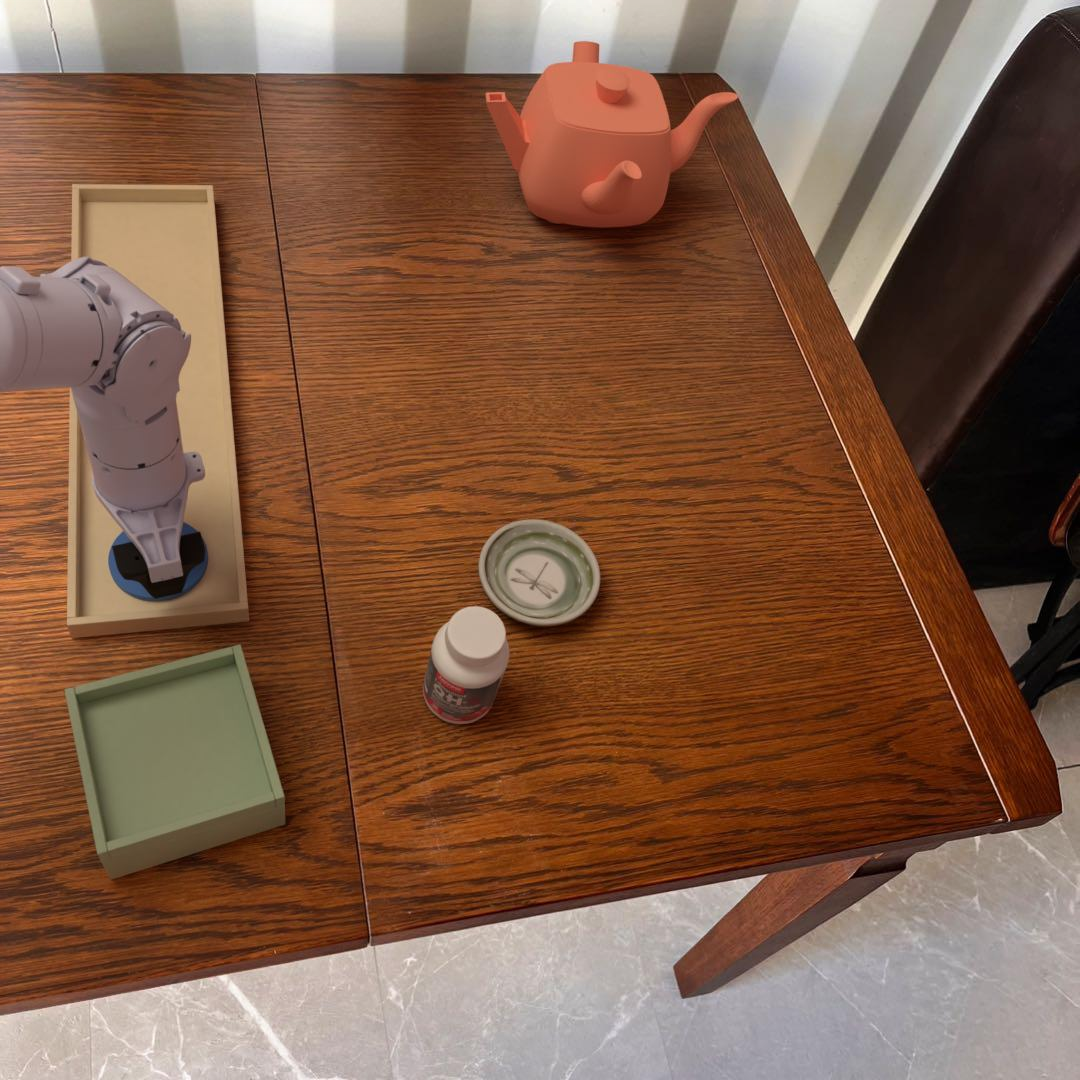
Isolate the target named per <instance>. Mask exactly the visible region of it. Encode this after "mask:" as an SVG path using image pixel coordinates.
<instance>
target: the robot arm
mask: <svg viewBox="0 0 1080 1080" xmlns="http://www.w3.org/2000/svg"><path fill="white" fill-rule="evenodd" d="M185 334H186V333H185V332H184V331H183V330H182V329H181V326H180V323H179V321H178V319H177V318H176V317H175V316H174V315H173V314H172V313H170V312H169V311H168V310H167V309H165V308H164V307H163V306H161V305H160V304H159V303H158V302H156V301H155V300H154V299H152V298H151V297H150V296H149V295H147V294H146V293H145V292H143V291H142V290H141V289H140V288H138V287H137V286H136V285H134V284H133V283H132V282H131V281H129V280H128V279H127V278H125V277H124V276H123V275H122V274H120V273H119V272H118V271H116V270H115V269H113V268H111V267H109V266H108V265H106V264H105V263H103V262H101V261H98V260H93V259H91V258H90V257H87V256H86V257H81V258H78V259H75V260H73V261H71V260H70V261H68V262H66V263H65V264H63V265H62V266H61V267H59V268H57V269H56V270H55V271H53V272H50V273H41V274H40V275H39V276H33V275H31V273H29V272H28V271H27V270H25V269H24V268H23V267H21V266H10V265H9V266H8V265H2V266H0V393H2V394H3V393H12V392H13V393H14V392H16V393H17V392H27V391H29V392H31V391H42V390H43V391H44V390H53V389H55V390H56V389H68V388H69V389H70V387H71V391H72V395H73V399H74V402H75V406H76V410H77V414H78V417H79V421H80V425H81V429H82V433H83V437H84V441H85V445H86V448H87V452H88V456H89V460H90V464H91V468H92V484H93V488H94V492H95V494H96V496H97V498H98V499H99V501H100V502H101V504H102V505H103V506H104V507H105V509H106V510H107V511H108V512H109V514H110V515H111V516H112V517H113V519H114V520H115V521H116V522H117V524H118V525H119V526H120V527H121V529H122V530H123V531H124V532H125V534H126V535H127V536H128V537H129V539H130V540H131V541H132V542H128V543H124V544H119V545H114V546H112V549H113V553H114V557H115V561H116V565H117V569H118V571H119V573H120V574H121V576H122V577H123V578H124V579H125V580H133V581H137V582H139V583H140V584H141V585H142V586H143V587H144V588H145V589H146V591H147V592H148V593H149V594H150V595H151V596H152V597H153V598H155V599H157V598H161V597H165V596H170V595H174V594H178V593H181V592H182V591H183V589H184V586H185V584H186V581H187V577H188V575H189V573H190V571H191V570H192V569H193V568H194V567H196V566H197V565H199V564H201V563H202V562H203V561H204V558H205V546H204V543H203V539H202V536H201V532H194V533H190V534H185V535H181V532H182V526H183V520H184V514H185V508H186V503H187V497H188V491H189V486H190V485H191V484H192V483H193V482H197V481H201V480H203V479H204V477H205V469H204V465H203V462H202V458H201V456H200V454H199V453H197V452H188V453H184V452H183V445H182V438H181V431H180V424H179V417H178V410H177V403H176V397H177V395H176V394H177V393H178V392H179V391H180V387H179V374H180V371H181V369H182V367H183V365H184V363H185V361H186V359H187V356H188V354H189V350H190V346H191V334H187V335H186V336H185Z"/></svg>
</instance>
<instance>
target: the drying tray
mask: <svg viewBox="0 0 1080 1080" xmlns="http://www.w3.org/2000/svg"><path fill="white" fill-rule="evenodd" d="M214 193H215V191H214V185H213V184H119V183H118V184H117V183H116V184H114V183H113V184H112V183H111V184H110V183H107V184H106V183H105V184H103V183H101V184H100V183H98V184H95V183H83V184H82V183H72V184H71V243H70V244H71V245H70V246H71V247H70V248H71V249H70V251H71V252H70V253H71V254H70V262H71V261H73V260H75V259H78V258H81V257H86V256H87V257H90V258H91V259H93V260H98V261H101V262H103V263H105V264H106V265H108V266H109V267H111V268H113V269H115V270H116V271H118V272H119V273H120V274H122V275H123V276H124V277H125V278H127V279H128V280H129V281H131V282H132V283H133V284H134V285H136V286H137V287H138V288H140V289H141V290H142V291H143V292H145V293H146V294H147V295H149V296H150V297H151V298H152V299H154V300H155V301H156V302H158V303H159V304H160V305H161V306H163V307H164V308H165V309H167V310H168V311H169V312H170V313H172V314H173V315H174V316H175V317H176V318H177V319H178V321H179V323H180V326H181V329H182V330H183V331H184V332H185V333H186V334H185V336H186V335H187V334H191V346H190V350H189V354H188V356H187V359H186V361H185V363H184V365H183V367H182V369H181V371H180V374H179V387H180V391H179V392H178V393H177V394H176V395H177V397H176V403H177V410H178V417H179V424H180V431H181V438H182V445H183V452H184V453H188V452H197V453H199V454H200V456H201V458H202V462H203V465H204V469H205V477H204V479H203V480H201V481H197V482H193V483H192V484H191V485H190V486H189V491H188V497H187V503H186V508H185V514H184V520H183V522H185V523H187V524H189V525H190V526H192V527H193V528H194V529H196V530H197V531H198V532H201V536H202V537H203V539H204V541H205V543H206V546H207V551H208V566H207V569H206V572H205V574H204V576H203V578H202V579H201V581H200V582H199V583H198V584H197V585H196V586H195V587H194V588H193V589H192V590H190V591H189V592H187V593H186V594H184V595H182V596H180V597H177V598H174V599H171V600H166V601H157V602H155V601H145V600H140V599H137V598H134V597H132V596H130V595H128V594H126V593H125V592H124V591H122V590H121V589H120V588H119V587H118V586H117V584H116V583H115V582H114V580H113V578H112V576H111V573H110V570H109V564H108V557H109V552H110V549H111V546H112V544H113V542H114V541H115V539H116V538H117V537H118V536H119V535H120V534H121V533H122V532H123V530H122V529H121V527H120V526H119V525H118V524H117V522H116V521H115V520H114V519H113V517H112V516H111V515H110V514H109V512H108V511H107V510H106V509H105V507H104V506H103V505H102V504H101V502H100V501H99V499H98V498H97V496H96V494H95V492H94V488H93V484H92V468H91V464H90V460H89V456H88V452H87V448H86V445H85V441H84V437H83V433H82V429H81V425H80V421H79V417H78V414H77V410H76V406H75V402H74V399H73V395H72V391H71V387H69V406H68V407H69V409H68V410H69V411H68V412H69V413H68V414H69V415H68V420H69V421H68V426H69V427H68V493H67V495H68V496H67V497H68V501H67V502H68V503H67V569H66V570H67V571H66V572H67V573H66V574H67V576H66V577H67V578H66V581H67V582H66V586H67V587H66V592H67V593H66V626H67V629H68V632H69V635H70V638H71V639H79V638H89V637H91V638H92V637H100V636H111V635H121V634H132V633H143V632H152V631H153V632H155V631H163V630H174V629H175V630H176V629H184V628H194V627H205V626H216V625H227V624H238V623H244V622H245V623H247V622H250V613H249V612H250V611H249V601H248V599H249V598H248V589H247V588H248V587H247V578H246V565H245V551H244V540H243V529H242V528H243V527H242V516H241V504H240V492H239V480H238V470H237V468H238V467H237V457H236V444H235V433H234V422H233V409H232V396H231V385H230V373H229V362H228V349H227V338H226V336H227V335H226V325H225V314H224V301H223V289H222V277H221V265H220V251H219V239H218V229H217V228H218V227H217V217H216V206H215V194H214Z"/></svg>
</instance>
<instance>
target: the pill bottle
mask: <svg viewBox="0 0 1080 1080" xmlns="http://www.w3.org/2000/svg"><path fill="white" fill-rule="evenodd" d="M506 631H507V630H506V627H505V624H504V622H503V620H502V619H501V618H500V617H499V615H498V614H497V613H496V612H494V611H493V610H491V609H489V608H486V607H484V606H477V605H473V606H472V605H471V606H467V607H463V608H461V609H459V610H458V611H457V612H455V613H454V614H453V615H452V616H451V617H450V620H448V621H447V622H446V623H444V624H443V625H442V626H441V627H440V628H439V629H438V631H437V632H436V634H435V636H434V638H433V641H432V645H431V648H430V653H429V658H428V661H427V665H426V669H425V673H424V678H423V683H422V694H423V699H424V702H425V704H426V706H427V707H428V709H429V710H430V711H431V712H432V713H433V715H434V716H436V717H437V718H439V719H440V720H442V721H444V722H447V723H449V724H454V725H464V724H465V725H466V724H467V725H469V724H471V723H473V722H476V721H478V720H480V719H481V718H483V717H485V716H486V715H487V714H488V712H489V711H490V709H491V708H492V706H493V704H494V701H495V699H496V697H497V695H498V691H499V688H500V686H501V683H502V680H503V678H504V675H505V673H506V670H507V668H508V666H509V661H510V646H509V645H510V644H509V642H508V639H507V632H506Z"/></svg>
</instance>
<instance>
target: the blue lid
mask: <svg viewBox="0 0 1080 1080" xmlns="http://www.w3.org/2000/svg"><path fill="white" fill-rule="evenodd" d="M194 532H198V531H197V530H196V529H194V528H193V527H192V526H190V525H189V524H187V523H185V522H183V526H182V532H181V535H185V534H190V533H194ZM202 539H203V537H202ZM128 542H132V541H131V540H130V539H129V537H128V536H127V535H126V534H125V532H124V531H123V532H122V533H121V534H120V535H119V536H118V537H117V538H116V539H115V541H114V542H113V544H112V546H114V545H119V544H124V543H128ZM203 543H204V546H205V558H204V561H203V562H202V563H201V564H199V565H197V566H196V567H194V568H193V569H192V570H191V571H190V573H189V575H188V577H187V581H186V584H185V586H184V589H183V591H182V592H181V593H178V594H174V595H170V596H165V597H161V598H157V599H155V598H153V597H152V596H151V595H150V594H149V593H148V592H147V591H146V589H145V588H144V587H143V586H142V585H141V584H140V583H139V582H137V581H133V580H125V579H124V578H123V577H122V576H121V574H120V573H119V571H118V569H117V565H116V561H115V557H114V553H113V549H112V546H111V549H110V552H109V557H108V564H109V570H110V573H111V576H112V578H113V580H114V582H115V583H116V584H117V586H118V587H119V588H120V589H121V590H122V591H124V592H125V593H126V594H128V595H130V596H132V597H134V598H137V599H140V600H145V601H155V602H157V601H166V600H171V599H174V598H177V597H180V596H182V595H184V594H186V593H187V592H189V591H190V590H192V589H193V588H194V587H195V586H196V585H197V584H198V583H199V582H200V581H201V579H202V578H203V576H204V574H205V572H206V569H207V566H208V551H207V546H206V543H205V541H204V539H203Z"/></svg>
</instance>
